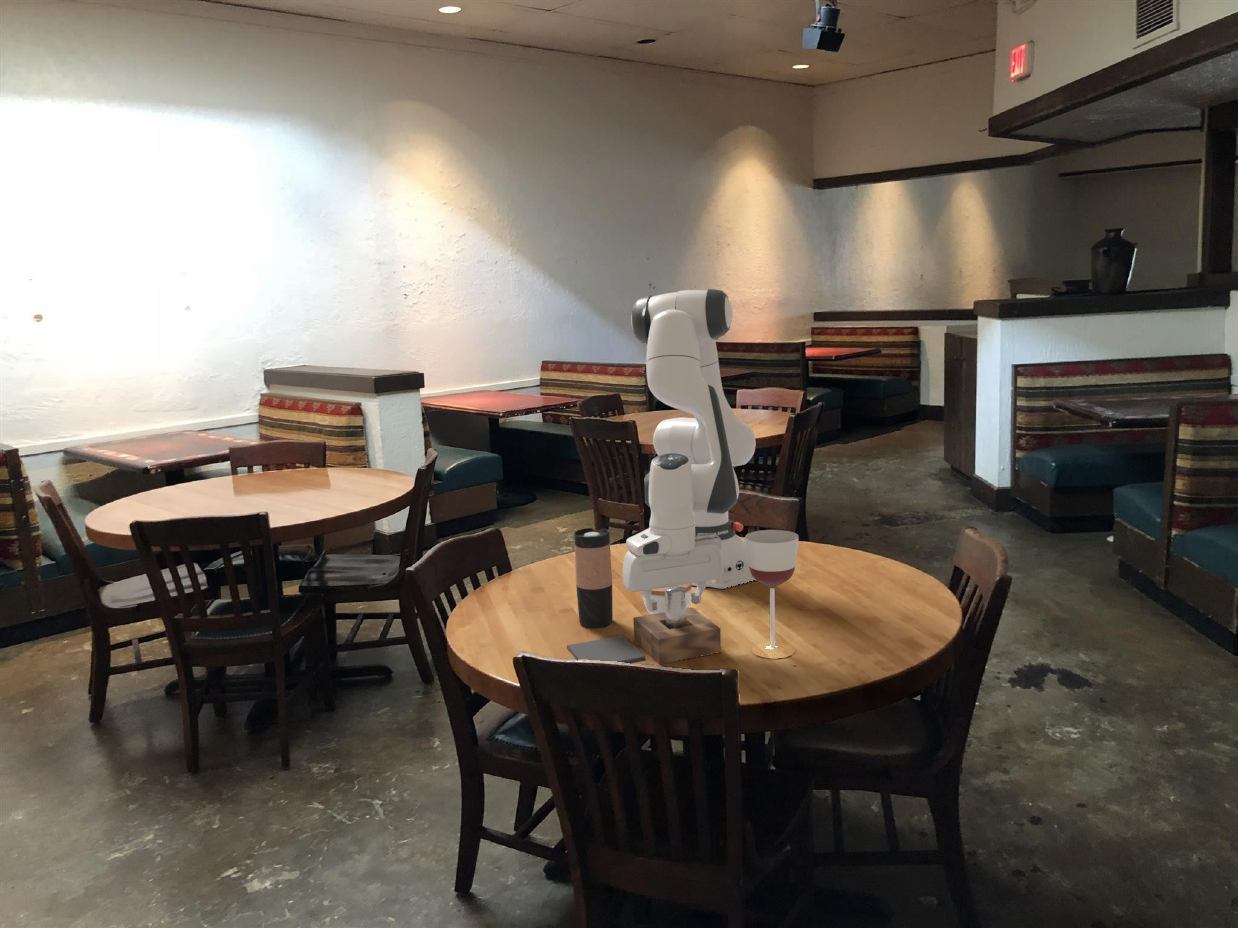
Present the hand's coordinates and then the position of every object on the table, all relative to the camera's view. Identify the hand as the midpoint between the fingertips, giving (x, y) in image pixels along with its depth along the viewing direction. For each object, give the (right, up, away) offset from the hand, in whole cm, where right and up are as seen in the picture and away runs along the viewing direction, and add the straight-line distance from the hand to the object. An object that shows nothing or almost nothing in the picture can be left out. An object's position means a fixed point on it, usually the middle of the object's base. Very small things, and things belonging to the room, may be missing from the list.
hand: (674, 606), depth 184 cm
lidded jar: (0, -5, +18) cm, 19 cm away
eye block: (+1, -8, +2) cm, 9 cm away
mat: (-14, -9, 0) cm, 16 cm away
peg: (+1, -8, +2) cm, 9 cm away
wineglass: (+19, -8, -2) cm, 21 cm away
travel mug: (-16, -6, +17) cm, 24 cm away
